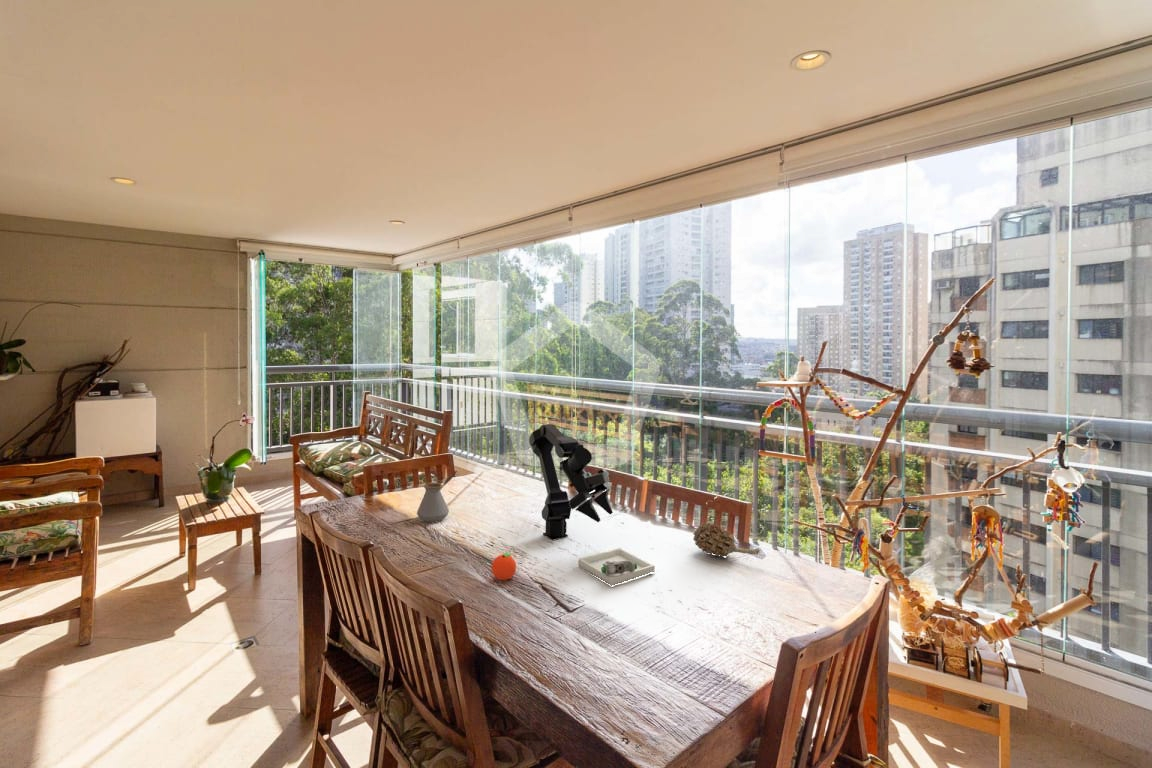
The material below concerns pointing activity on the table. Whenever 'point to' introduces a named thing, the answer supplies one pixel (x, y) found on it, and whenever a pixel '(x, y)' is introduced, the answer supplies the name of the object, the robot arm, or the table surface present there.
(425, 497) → the coffee pot
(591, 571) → the parts tray
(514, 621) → the table surface
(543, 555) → the table surface
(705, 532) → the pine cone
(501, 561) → the clementine
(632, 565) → the mechanical component
